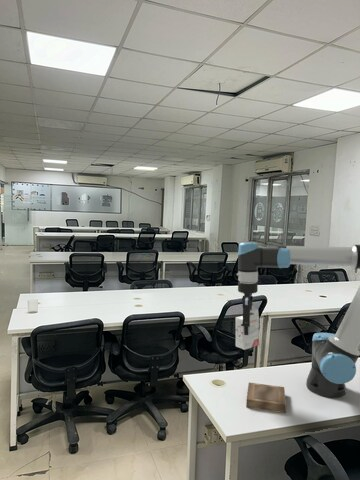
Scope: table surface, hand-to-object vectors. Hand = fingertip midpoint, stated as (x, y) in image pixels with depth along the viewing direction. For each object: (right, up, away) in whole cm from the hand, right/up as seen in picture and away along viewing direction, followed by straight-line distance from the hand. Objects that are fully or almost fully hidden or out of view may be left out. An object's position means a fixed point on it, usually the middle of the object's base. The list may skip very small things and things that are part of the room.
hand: (247, 338), depth 138 cm
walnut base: (+7, -23, -3) cm, 24 cm away
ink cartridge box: (0, -3, 0) cm, 3 cm away
